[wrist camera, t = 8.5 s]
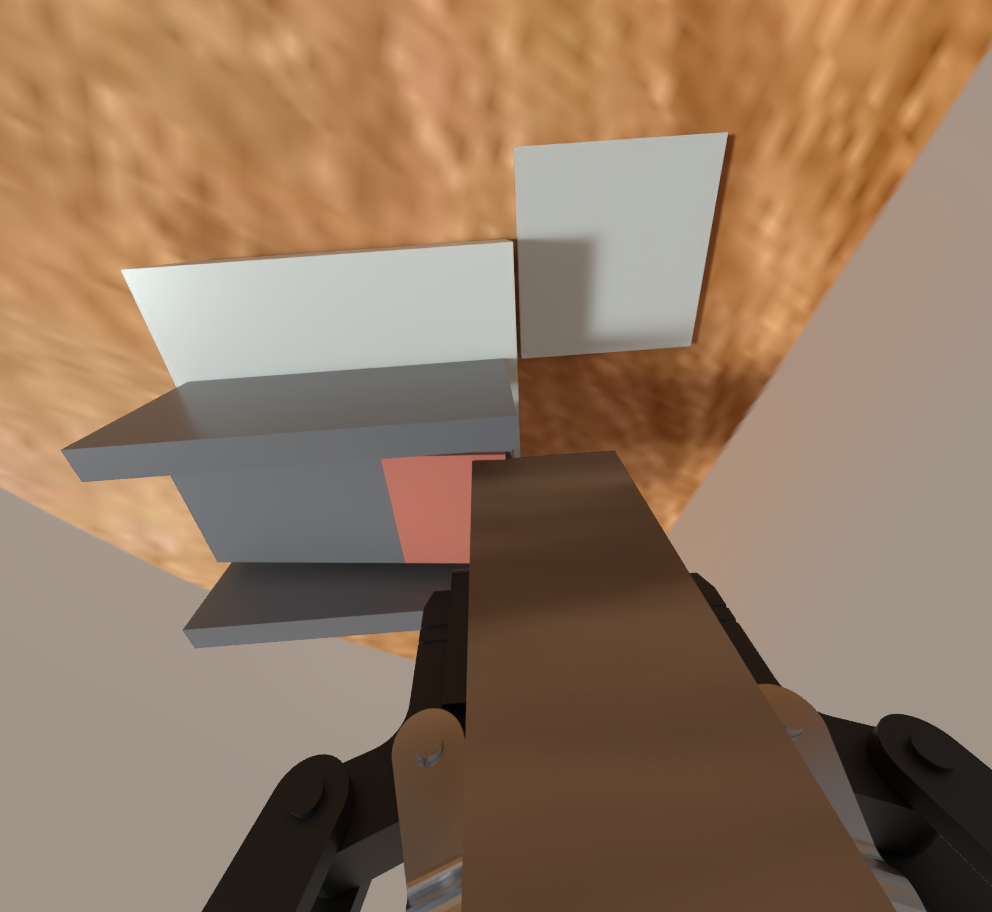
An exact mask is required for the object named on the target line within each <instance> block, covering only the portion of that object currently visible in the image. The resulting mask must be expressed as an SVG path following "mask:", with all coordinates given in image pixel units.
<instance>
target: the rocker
mask: <svg viewBox="0 0 992 912" xmlns="http://www.w3.org/2000/svg"><path fill="white" fill-rule="evenodd" d="M506 458H514V449H506V450H493V451H480V452H467V453H454V454H441V455H428V456H415V457H402V458H389V459H376V460H363V461H350V462H337V463H324V464H311V465H297V466H284V467H271V468H258V469H245V470H232V471H219V472H206V473H193V474H180V475H170V476H171V477H172V479H173V481H174V483H175V485H176V487H177V488H178V490H179V492H180V494H181V496H182V498H183V500H184V501H185V503H186V505H187V507H188V509H189V511H190V512H191V514H192V516H193V518H194V520H195V522H196V523H197V525H198V527H199V529H200V531H201V533H202V534H203V536H204V538H205V540H206V542H207V544H208V545H209V547H210V549H211V551H212V553H213V555H214V556H215V558H216V560H217V562H306V563H470V525H471V484H472V461H478V460H505V459H506Z"/></svg>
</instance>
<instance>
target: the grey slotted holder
mask: <svg viewBox="0 0 992 912" xmlns="http://www.w3.org/2000/svg"><path fill="white" fill-rule="evenodd" d="M121 271H122V273H123V275H124V278H125V280H126V282H127V284H128V286H129V288H130V290H131V292H132V294H133V296H134V299H135V301H136V303H137V305H138V307H139V309H140V311H141V313H142V315H143V318H144V320H145V322H146V324H147V326H148V328H149V330H150V332H151V334H152V337H153V339H154V341H155V343H156V345H157V347H158V349H159V351H160V353H161V355H162V358H163V360H164V362H165V364H166V366H167V368H168V370H169V372H170V374H171V377H172V379H173V381H174V383H175V385H176V387H177V388H175V389H173V390H171V391H170V392H168V393H166V394H164V395H162V396H160V397H158V398H157V399H155V400H153V401H151V402H149V403H147V404H145V405H144V406H142V407H140V408H138V409H136V410H134V411H132V412H131V413H129V414H127V415H125V416H123V417H121V418H119V419H117V420H116V421H114V422H112V423H110V424H108V425H106V426H104V427H103V428H101V429H99V430H97V431H95V432H93V433H91V434H90V435H88V436H86V437H84V438H82V439H80V440H78V441H77V442H75V443H73V444H71V445H69V446H67V447H65V448H64V449H62V450H61V451H62V453H63V454H64V456H65V457H66V459H67V460H68V462H69V463H70V465H71V466H72V468H73V469H74V471H75V472H76V474H77V475H78V477H79V478H80V480H81V481H82V482H89V481H102V480H115V479H128V478H141V477H154V476H167V475H180V474H193V473H206V472H219V471H232V470H245V469H258V468H271V467H284V466H297V465H311V464H324V463H337V462H350V461H363V460H376V459H389V458H402V457H415V456H428V455H441V454H454V453H467V452H480V451H493V450H506V449H514V458H520V457H521V450H520V423H519V395H518V368H517V340H516V313H515V286H514V258H513V242H512V241H510V240H507V239H496V240H482V241H468V242H454V243H440V244H426V245H412V246H398V247H384V248H370V249H356V250H342V251H328V252H314V253H300V254H286V255H272V256H258V257H244V258H230V259H216V260H202V261H190V262H182V263H174V264H165V265H157V266H148V267H140V268H132V269H123V270H121ZM469 567H470V563H306V562H232V563H231V564H230V565H229V567H228V568H227V570H226V571H225V572H224V574H223V575H222V577H221V578H220V579H219V581H218V582H217V583H216V585H215V586H214V588H213V589H212V590H211V592H210V593H209V594H208V596H207V598H206V599H205V600H204V602H203V603H202V604H201V605H200V607H199V608H198V610H197V611H196V613H195V614H194V615H193V617H192V618H191V619H190V621H189V622H188V624H187V625H186V626H185V628H184V629H183V631H184V633H185V634H186V636H187V637H188V639H189V640H190V642H191V643H192V645H193V646H194V648H203V647H216V646H229V645H240V644H252V643H265V642H277V641H289V640H303V639H315V638H328V637H340V636H352V635H365V634H377V633H389V632H402V631H414V630H421V623H422V616H423V609H424V606H425V605H426V603H427V602H428V600H429V598H430V597H431V595H432V593H433V592H434V591H444V590H451V579H452V571H453V570H456V569H469Z"/></svg>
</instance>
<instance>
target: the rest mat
mask: <svg viewBox="0 0 992 912" xmlns="http://www.w3.org/2000/svg"><path fill="white" fill-rule="evenodd" d="M727 136H728V132H724V133H709V134H695V135H680V136H666V137H651V138H637V139H623V140H608V141H594V142H579V143H565V144H551V145H536V146H522V147H515V148H514V163H515V194H516V226H517V257H518V288H519V319H520V351H521V358H522V359H526V358H539V357H553V356H566V355H580V354H593V353H606V352H620V351H633V350H647V349H660V348H674V347H687V346H691V341H692V336H693V330H694V324H695V318H696V313H697V307H698V301H699V296H700V290H701V284H702V279H703V273H704V267H705V261H706V256H707V250H708V244H709V239H710V233H711V227H712V222H713V216H714V210H715V204H716V199H717V193H718V187H719V182H720V176H721V170H722V165H723V159H724V153H725V147H726V142H727Z"/></svg>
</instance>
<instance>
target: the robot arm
mask: <svg viewBox="0 0 992 912" xmlns="http://www.w3.org/2000/svg"><path fill="white" fill-rule="evenodd" d="M690 575H691V576H692V578H693V580H694V581H695V583H696V585H697V586H698V588H699V590H700V591H701V593H702V594H703V596H704V598H705V599H706V601H707V603H708V604H709V606H710V608H711V609H712V611H713V612H714V614H715V616H716V617H717V619H718V621H719V622H720V624H721V626H722V627H723V629H724V630H725V632H726V634H727V635H728V637H729V639H730V640H731V642H732V643H733V645H734V647H735V648H736V650H737V652H738V653H739V655H740V657H741V658H742V660H743V661H744V663H745V665H746V666H747V668H748V670H749V671H750V673H751V675H752V676H753V678H754V679H755V681H756V683H757V684H758V686H759V688H760V689H761V691H762V692H763V694H764V696H765V697H766V699H767V701H768V702H769V704H770V706H771V707H772V709H773V710H774V712H775V714H776V715H777V717H778V719H779V720H780V722H781V724H782V725H783V727H784V728H785V730H786V732H787V733H788V735H789V737H790V738H791V740H792V742H793V743H794V745H795V746H796V748H797V750H798V751H799V753H800V755H801V756H802V758H803V759H804V761H805V763H806V764H807V766H808V768H809V769H810V771H811V773H812V774H813V776H814V777H815V779H816V781H817V782H818V784H819V786H820V787H821V789H822V791H823V792H824V794H825V795H826V797H827V799H828V800H829V802H830V804H831V805H832V807H833V809H834V810H835V812H836V813H837V815H838V817H839V818H840V820H841V822H842V823H843V825H844V826H845V828H846V830H847V831H848V833H849V835H850V836H851V838H852V840H853V841H854V843H855V844H856V846H857V848H858V849H859V851H860V853H861V854H862V856H863V858H864V859H865V861H866V862H867V864H868V866H869V867H870V869H871V871H872V872H873V874H874V875H875V877H876V879H877V880H878V882H879V884H880V885H881V887H882V889H883V890H884V892H885V893H886V895H887V897H888V898H889V900H890V902H891V903H892V905H893V907H894V908H895V910H896V911H897V912H992V770H991V769H990V768H989V767H988V766H986V765H985V764H984V763H983V762H982V761H980V760H979V759H978V758H977V757H975V756H974V755H973V754H972V753H971V752H969V751H968V750H967V749H966V748H964V747H963V746H962V745H961V744H959V743H958V742H957V741H956V740H954V739H953V738H952V737H951V736H949V735H948V734H946V733H945V732H943V731H942V730H940V729H939V728H937V727H935V726H933V725H932V724H930V723H928V722H926V721H923V720H921V719H918V718H915V717H912V716H908V715H904V714H890V715H887V716H885V717H883V718H882V719H881V720H880V722H879V723H878V725H877V726H876V727H874V726H869V725H865V724H861V723H857V722H853V721H849V720H845V719H840V718H836V717H832V716H829V715H825V714H822V713H820V712H817V711H816V710H815V708H813V706H812V705H811V704H809V703H808V702H807V701H806V700H805V699H803V698H802V697H801V696H799V695H798V694H796V693H794V692H792V691H791V690H789V689H786V688H784V687H782V686H781V685H780V684H779V683H778V681H777V680H776V679H775V677H774V676H773V674H772V673H771V671H770V670H769V668H768V667H767V665H766V664H765V662H764V661H763V659H762V658H761V656H760V655H759V653H758V652H757V650H756V649H755V647H754V646H753V644H752V643H751V641H750V640H749V638H748V637H747V635H746V634H745V632H744V631H743V629H742V628H741V626H740V625H739V623H737V622H736V619H735V617H734V616H733V614H732V613H731V611H730V610H729V608H727V607H726V604H725V603H724V601H723V599H722V598H721V596H720V595H719V593H718V592H717V590H716V589H715V587H714V586H712V585H711V584H710V583H709V582H707V581H706V580H705V579H704V578H703V577H701V576H700V575H699V574H698V573H690ZM468 609H469V569H456V570H453V571H452V579H451V590H444V591H434V592H433V593H432V595H431V597H430V598H429V600H428V602H427V603H426V605H425V606H424V609H423V616H422V623H421V630H420V636H419V645H418V650H417V657H416V664H415V671H414V677H413V685H412V691H411V698H410V705H409V710H408V712H407V715H406V718H405V720H404V722H403V724H402V725H401V727H400V728H399V729H398V731H397V732H396V733H395V734H394V735H393V736H392V737H391V738H390V739H389V740H388V741H387V742H385V743H384V744H382V745H381V746H379V747H377V748H375V749H373V750H371V751H369V752H367V753H364V754H362V755H360V756H358V757H355V758H353V759H351V760H349V761H346V762H344V763H342V762H341V761H340V760H339V759H338V758H336V757H334V756H331V755H326V754H324V755H316V756H312V757H309V758H307V759H305V760H303V761H302V762H300V763H298V764H297V765H296V766H294V767H293V768H292V769H291V770H290V771H289V772H288V773H287V774H286V775H285V776H284V777H283V778H282V780H281V781H280V782H279V784H278V785H277V787H276V788H275V790H274V791H273V793H272V795H271V796H270V798H269V800H268V802H267V803H266V805H265V807H264V808H263V810H262V812H261V813H260V815H259V817H258V818H257V820H256V822H255V823H254V825H253V827H252V828H251V830H250V832H249V833H248V835H247V837H246V838H245V840H244V842H243V843H242V845H241V847H240V849H239V850H238V852H237V853H236V855H235V857H234V858H233V860H232V862H231V864H230V865H229V867H228V868H227V870H226V872H225V874H224V875H223V877H222V879H221V880H220V882H219V884H218V885H217V887H216V889H215V890H214V892H213V894H212V895H211V897H210V899H209V900H208V902H207V904H206V905H205V907H204V909H203V910H202V912H360V910H361V908H362V905H363V902H364V899H365V897H366V894H367V891H368V888H369V886H370V883H371V880H372V879H374V878H375V877H377V876H379V875H381V874H382V873H384V872H387V871H388V870H390V869H392V868H394V867H396V866H398V865H399V864H401V863H403V862H404V868H405V877H406V886H407V905H406V912H461V902H462V861H463V819H464V777H465V735H466V693H467V651H468Z"/></svg>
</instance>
